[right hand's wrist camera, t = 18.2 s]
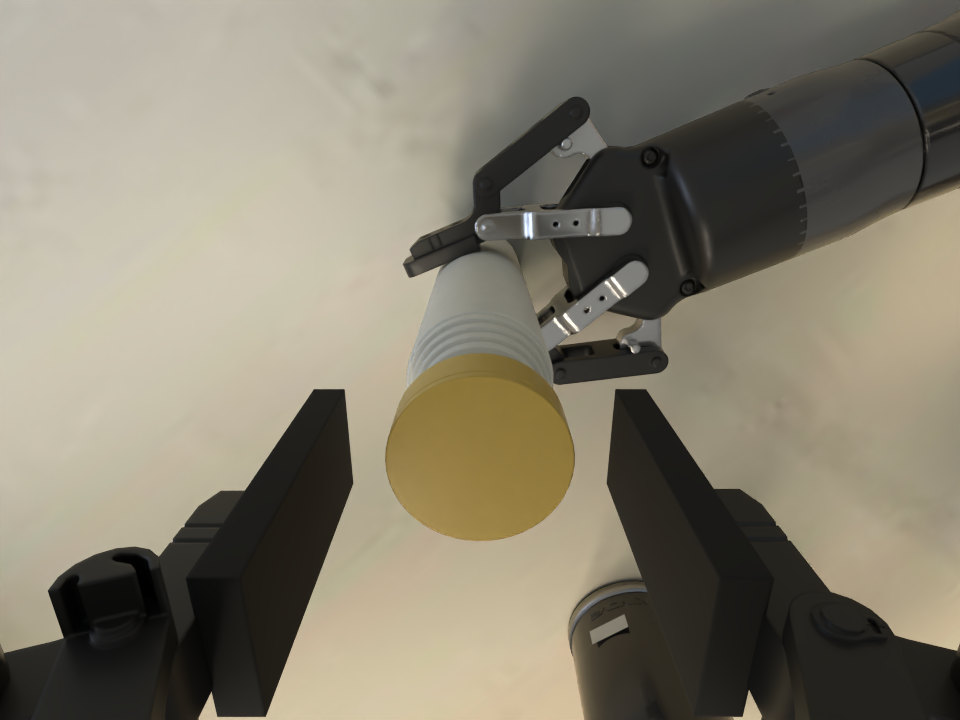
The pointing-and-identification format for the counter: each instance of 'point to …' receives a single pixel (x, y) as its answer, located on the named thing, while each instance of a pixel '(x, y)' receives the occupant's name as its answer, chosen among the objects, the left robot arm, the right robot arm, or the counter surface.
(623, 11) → the counter surface
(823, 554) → the counter surface
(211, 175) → the counter surface
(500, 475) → the cap
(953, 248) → the counter surface
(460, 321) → the bottle
